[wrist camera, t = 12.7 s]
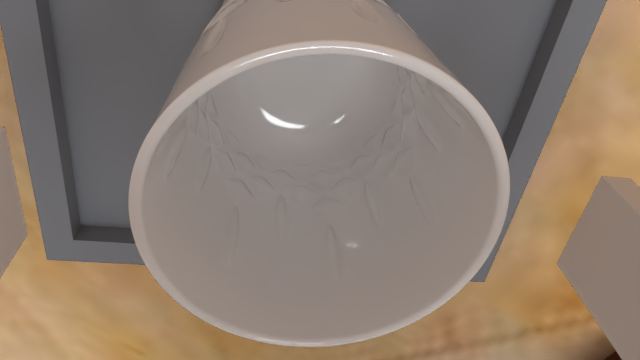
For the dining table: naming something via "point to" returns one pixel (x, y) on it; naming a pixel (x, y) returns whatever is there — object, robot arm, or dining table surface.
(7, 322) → the dining table surface
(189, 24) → the tray
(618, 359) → the ice cream bowl
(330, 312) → the white cup
